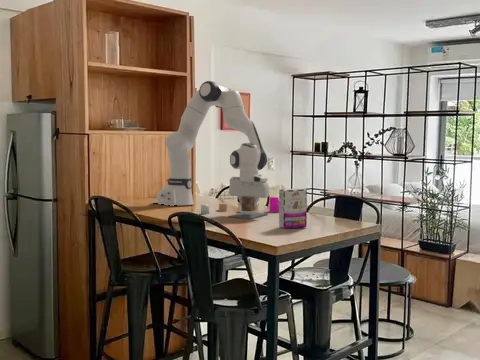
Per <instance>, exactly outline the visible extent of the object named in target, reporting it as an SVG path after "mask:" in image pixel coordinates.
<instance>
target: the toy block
mask: <svg viewBox="0 0 480 360" xmlns="http://www.w3.org/2000/svg"><path fill="white" fill-rule="evenodd" d="M268 198H269V199H268V200H269V206H268V209H269V210H268V211H269V212H273V213H277V214H279V196H278V197H276V196H270V197H269V196H268Z"/></svg>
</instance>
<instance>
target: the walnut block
mask: <svg viewBox="0 0 480 360" xmlns="http://www.w3.org/2000/svg"><path fill="white" fill-rule="evenodd" d="M254 202H255V197H243V198H242V211H250V212H256V210H257V207H253V206H252V205H253V203H254Z"/></svg>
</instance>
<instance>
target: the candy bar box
mask: <svg viewBox="0 0 480 360" xmlns="http://www.w3.org/2000/svg"><path fill="white" fill-rule="evenodd" d="M278 190H279V191H278V199H279V212H278V227H279V228H280V229H284V230H286V229H287V230H288V229H289V230H291V229H299V228H300V229H301V228H307V216H308V215H307V214H308V213H307V211H308V210H307V205H308V201H307V200H308V199H307V196H308V194H307V188H303V187H301V188H284V189H283V188H282V189H278Z"/></svg>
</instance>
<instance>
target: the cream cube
mask: <svg viewBox="0 0 480 360" xmlns="http://www.w3.org/2000/svg"><path fill="white" fill-rule="evenodd" d="M242 212H251V211H242V206H241V203H240V204H238V213H242Z"/></svg>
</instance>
